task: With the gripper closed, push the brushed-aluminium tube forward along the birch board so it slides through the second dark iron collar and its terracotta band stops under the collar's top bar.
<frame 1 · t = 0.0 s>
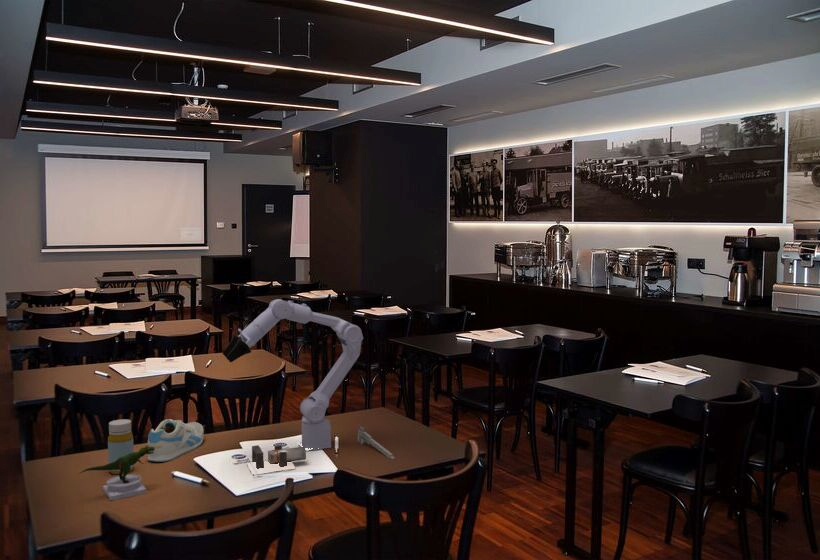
hand: (226, 357, 213), 32 cm above the table, tool tilted 50°, fingers open, 7 cm apart
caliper: (375, 452, 223), on the table
sneaker: (176, 450, 224), on the table
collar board: (271, 467, 207), on the table
tube: (287, 455, 209), point 3 cm above the table, slide at 0.0 cm
bottle: (121, 471, 204), on the table
dinosaur figurine: (118, 493, 187), on the table
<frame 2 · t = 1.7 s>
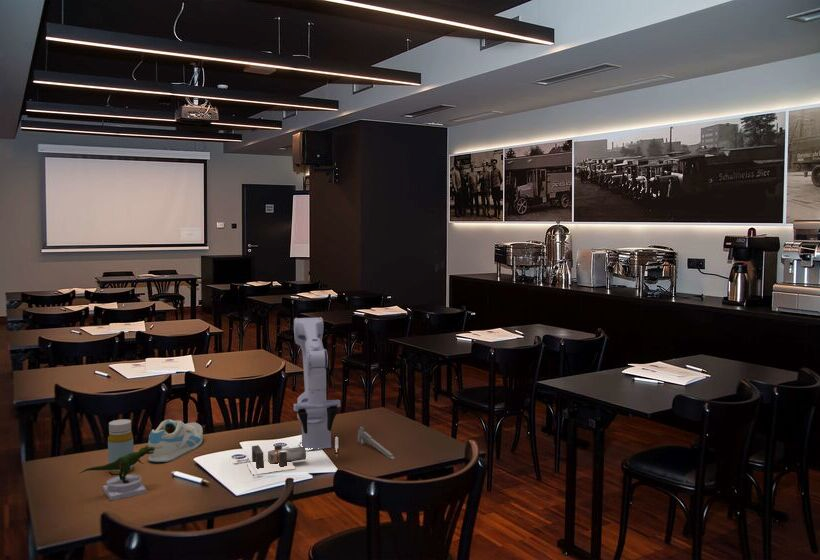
hand: (317, 431, 212), 10 cm above the table, tool pointing down, fingers open, 7 cm apart
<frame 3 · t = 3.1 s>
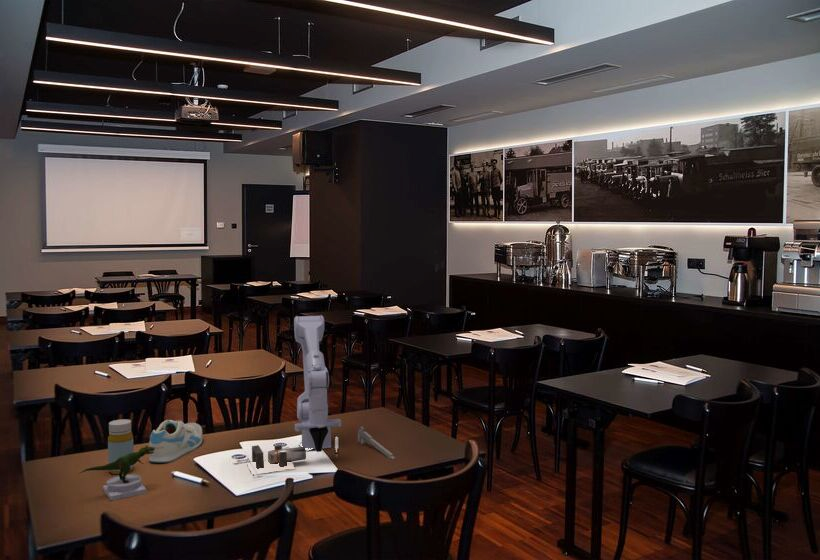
hand: (318, 450, 213), 3 cm above the table, tool pointing down, fingers closed
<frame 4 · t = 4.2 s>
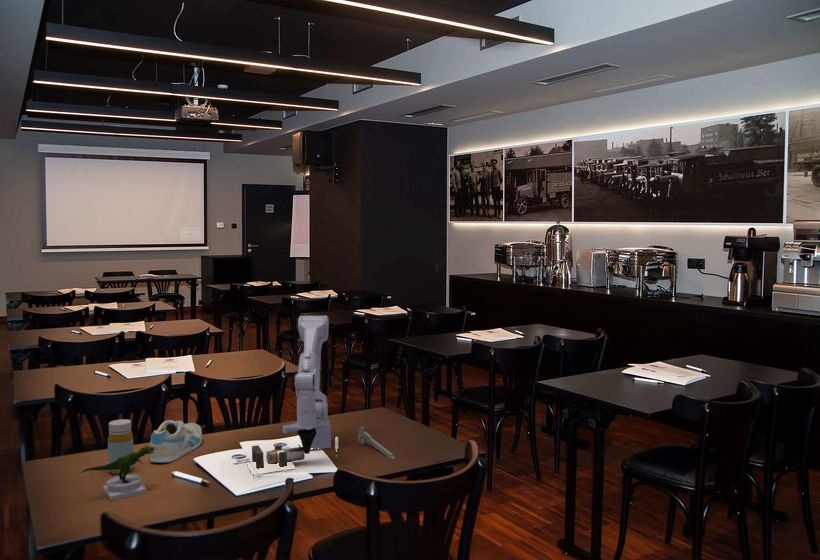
hand: (306, 452, 211), 3 cm above the table, tool pointing down, fingers closed
tube: (285, 455, 209), point 3 cm above the table, slide at 0.5 cm, touching gripper
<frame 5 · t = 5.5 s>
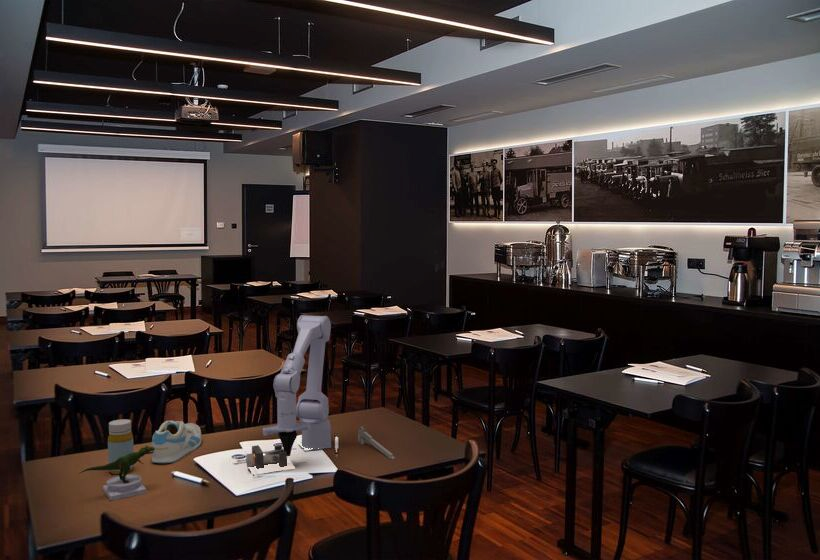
hand: (287, 455, 209), 3 cm above the table, tool pointing down, fingers closed
tube: (265, 458, 206), point 3 cm above the table, slide at 6.6 cm, touching gripper
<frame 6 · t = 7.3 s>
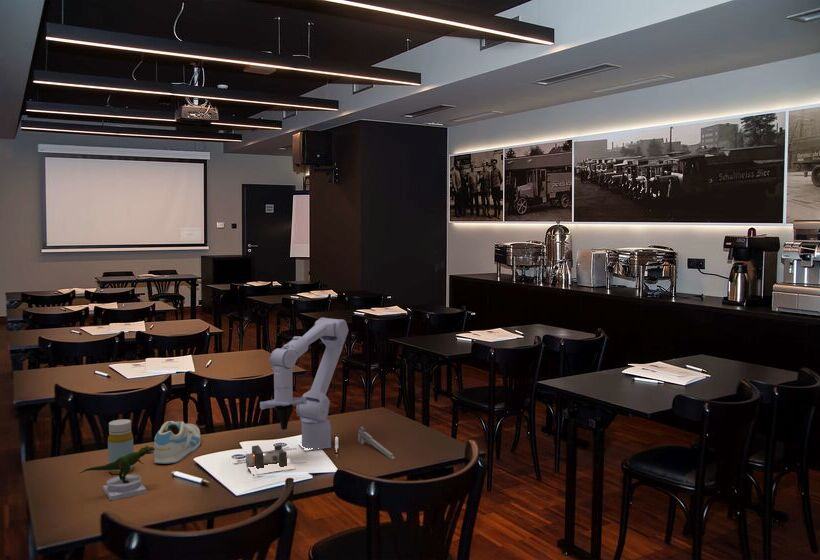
hand: (283, 428, 214), 10 cm above the table, tool pointing down, fingers closed
tube: (265, 458, 206), point 3 cm above the table, slide at 6.7 cm
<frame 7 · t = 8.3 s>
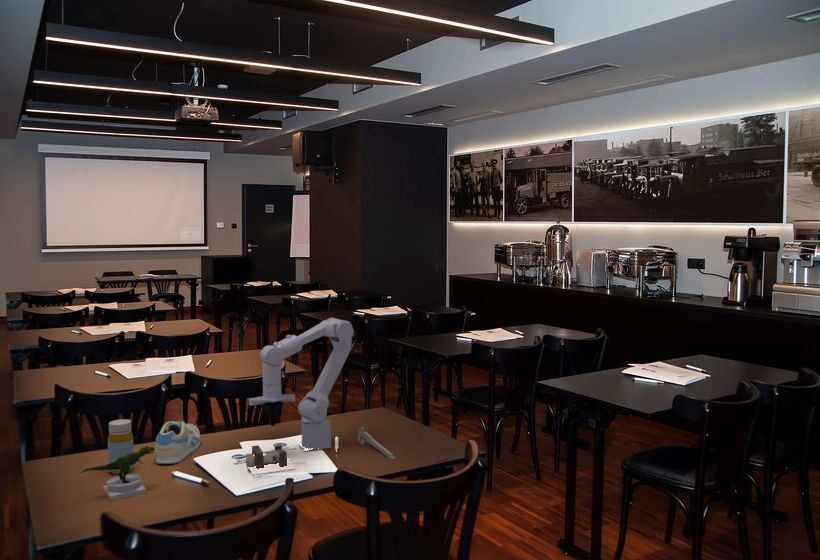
hand: (272, 425, 218), 10 cm above the table, tool pointing down, fingers closed
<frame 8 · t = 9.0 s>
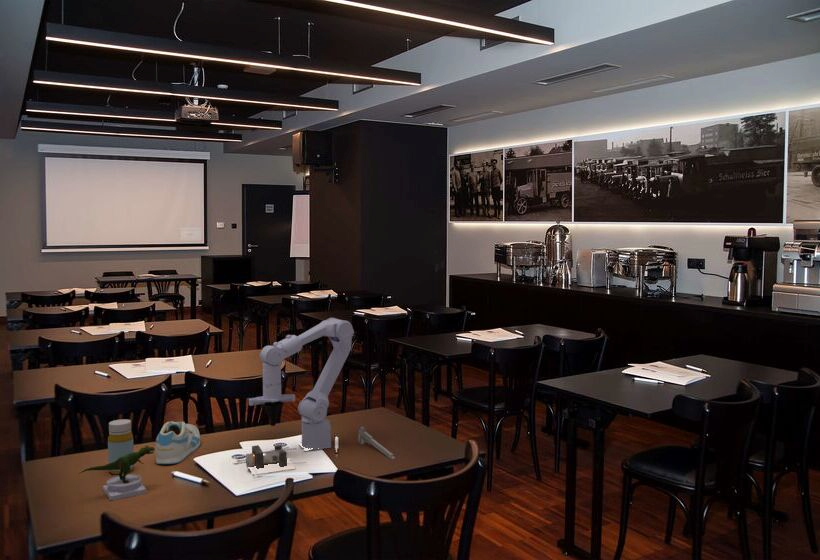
hand: (272, 425, 218), 10 cm above the table, tool pointing down, fingers closed
at the end: tube slide at 6.7 cm; the gripper is holding nothing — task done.
